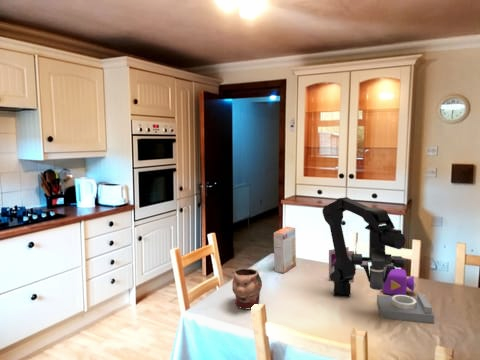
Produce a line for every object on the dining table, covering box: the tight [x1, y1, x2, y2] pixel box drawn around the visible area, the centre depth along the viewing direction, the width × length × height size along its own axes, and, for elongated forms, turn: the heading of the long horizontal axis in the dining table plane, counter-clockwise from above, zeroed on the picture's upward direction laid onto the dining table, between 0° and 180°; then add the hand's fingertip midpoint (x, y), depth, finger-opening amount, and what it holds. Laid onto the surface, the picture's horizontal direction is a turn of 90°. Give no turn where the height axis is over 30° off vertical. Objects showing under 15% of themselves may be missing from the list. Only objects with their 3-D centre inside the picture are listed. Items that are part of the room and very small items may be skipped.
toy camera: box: [382, 267, 417, 296], centre depth 158 cm, size 11×14×10 cm
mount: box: [376, 293, 435, 324], centre depth 140 cm, size 18×14×5 cm
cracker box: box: [273, 226, 297, 274], centre depth 188 cm, size 14×6×21 cm, turn 145°
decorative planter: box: [231, 268, 263, 309], centre depth 150 cm, size 20×12×14 cm, turn 170°
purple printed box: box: [328, 246, 355, 283], centre depth 173 cm, size 11×7×15 cm, turn 77°
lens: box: [369, 264, 384, 291], centre depth 139 cm, size 5×5×8 cm
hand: (376, 282), depth 139 cm, fingers closed on lens, 5 cm apart
